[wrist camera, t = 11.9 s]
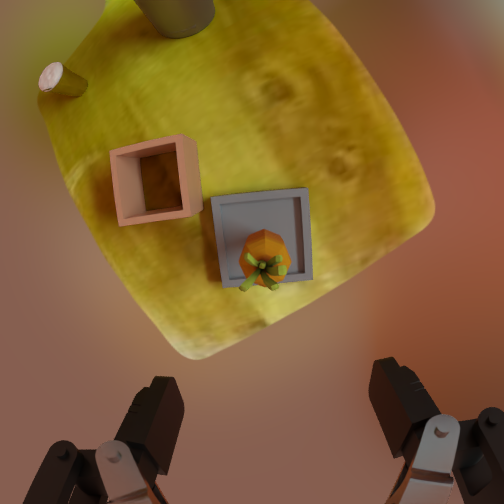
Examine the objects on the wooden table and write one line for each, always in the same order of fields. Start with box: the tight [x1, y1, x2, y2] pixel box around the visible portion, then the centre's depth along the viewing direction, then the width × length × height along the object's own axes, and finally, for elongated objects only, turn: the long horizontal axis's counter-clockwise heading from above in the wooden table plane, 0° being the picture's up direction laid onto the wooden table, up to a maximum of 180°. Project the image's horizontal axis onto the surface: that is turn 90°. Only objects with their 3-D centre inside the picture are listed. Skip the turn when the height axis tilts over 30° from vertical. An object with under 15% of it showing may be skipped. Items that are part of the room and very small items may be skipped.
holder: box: [110, 134, 204, 227], centre depth 31 cm, size 9×9×7 cm
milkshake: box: [39, 62, 88, 97], centre depth 26 cm, size 5×5×10 cm
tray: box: [211, 187, 313, 288], centre depth 35 cm, size 12×12×2 cm
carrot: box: [238, 229, 292, 292], centre depth 28 cm, size 5×5×15 cm
